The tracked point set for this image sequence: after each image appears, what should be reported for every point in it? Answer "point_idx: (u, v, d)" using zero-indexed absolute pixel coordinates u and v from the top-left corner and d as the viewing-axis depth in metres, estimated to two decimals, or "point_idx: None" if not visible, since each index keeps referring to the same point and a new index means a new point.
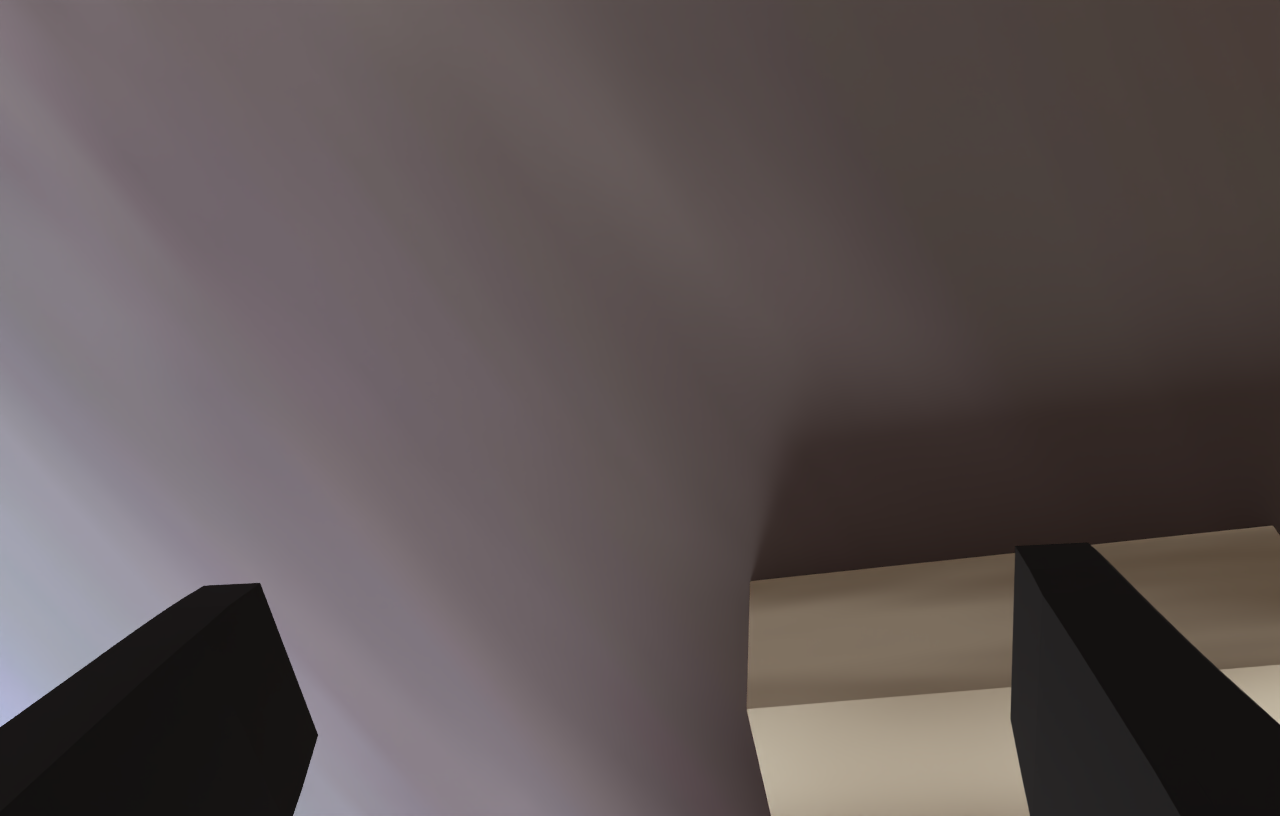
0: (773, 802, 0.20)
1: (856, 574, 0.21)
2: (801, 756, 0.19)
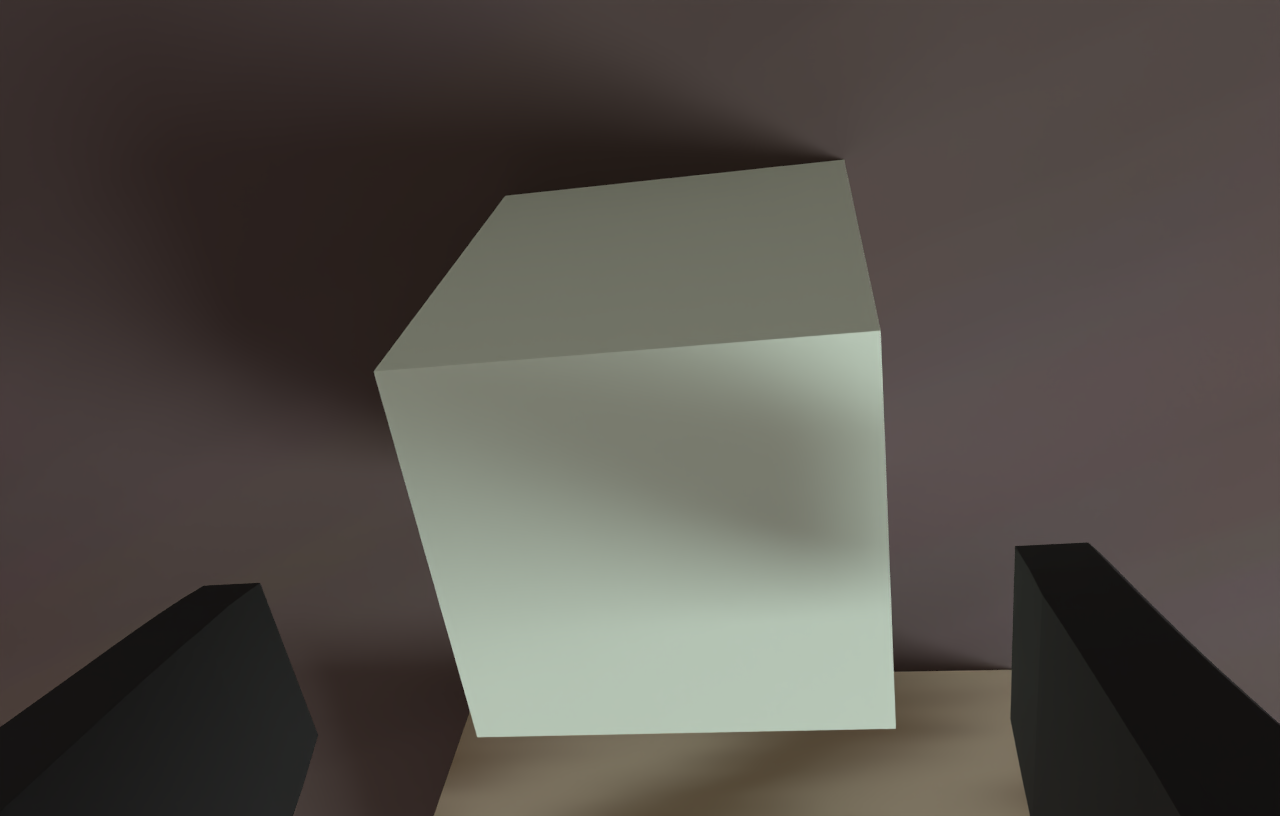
0: None
1: None
2: None
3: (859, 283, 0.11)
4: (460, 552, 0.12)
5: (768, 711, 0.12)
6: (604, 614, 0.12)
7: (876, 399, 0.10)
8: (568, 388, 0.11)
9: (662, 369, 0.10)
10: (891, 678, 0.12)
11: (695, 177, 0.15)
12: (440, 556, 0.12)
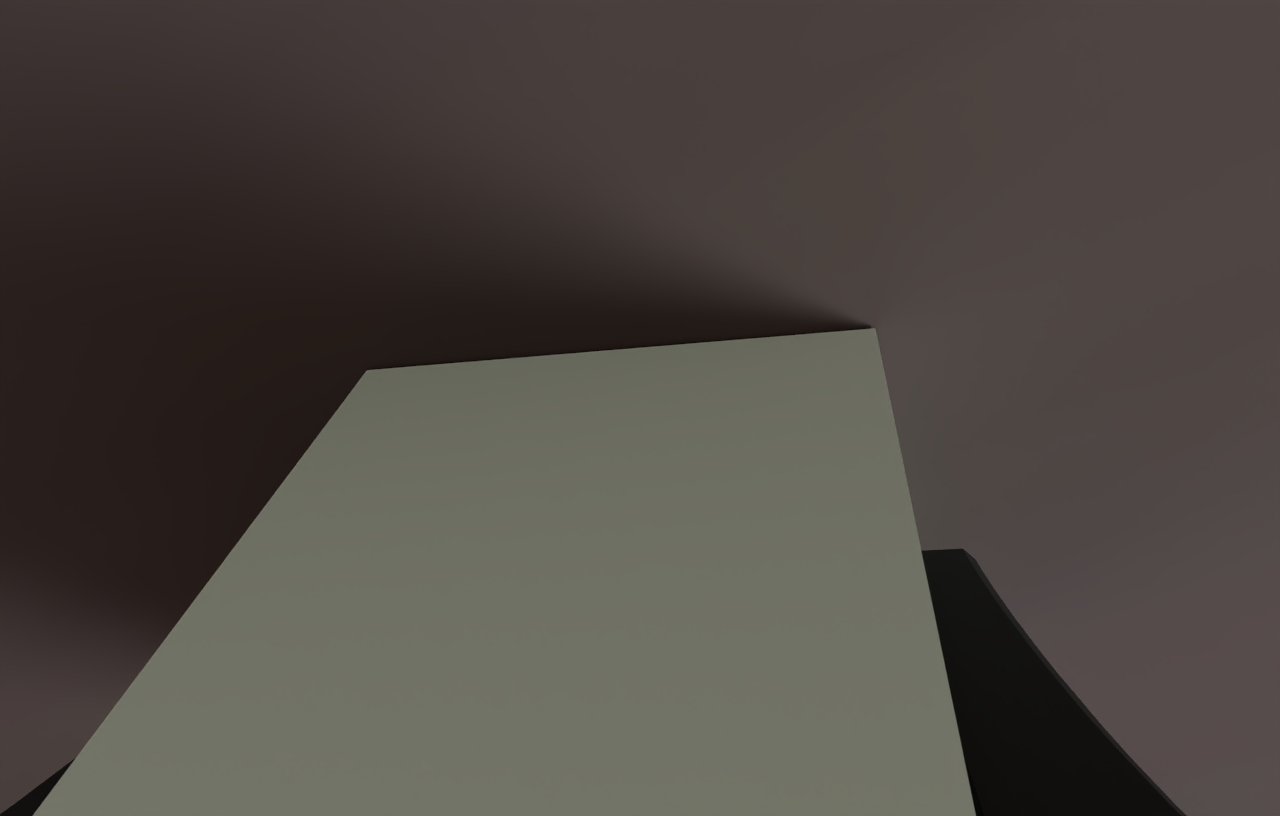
0: None
1: None
2: None
3: (931, 695, 0.06)
4: None
5: None
6: None
7: None
8: None
9: None
10: None
11: (648, 353, 0.10)
12: None
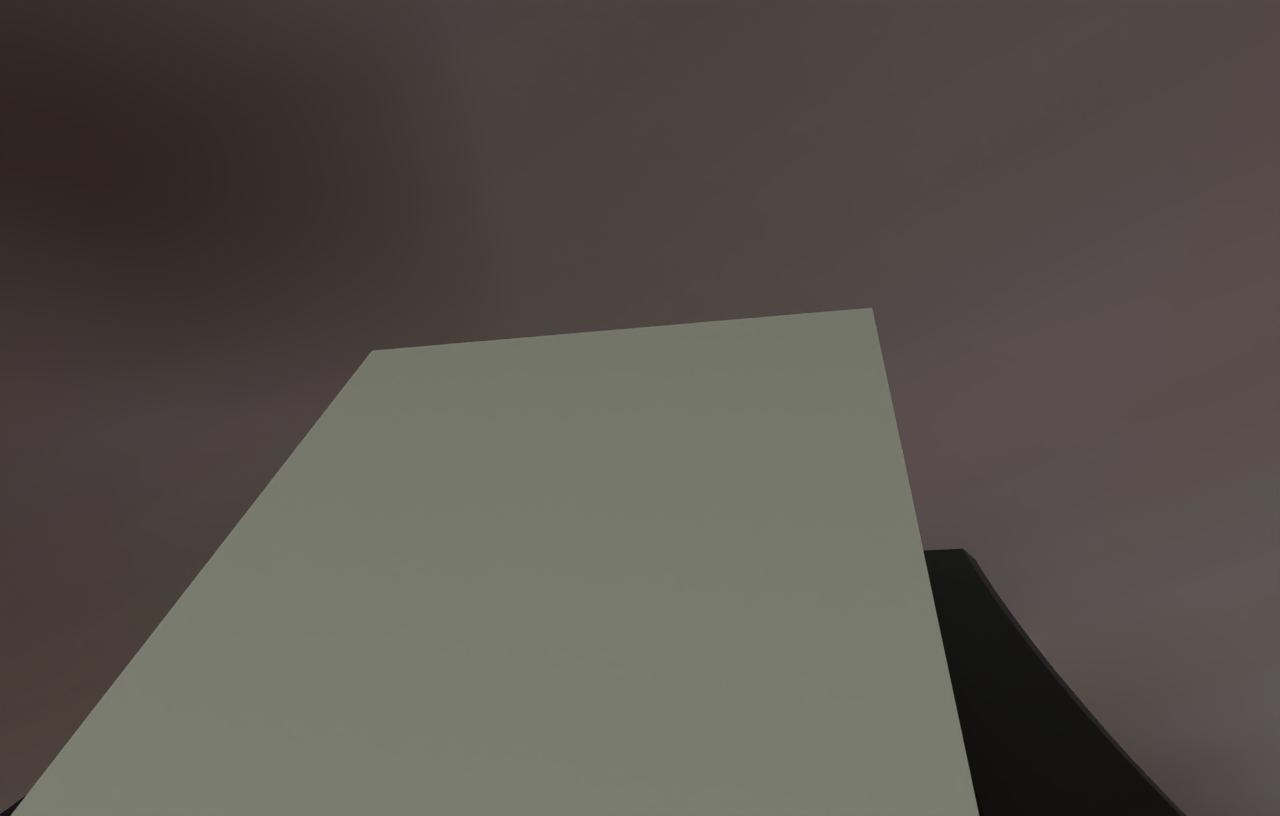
0: None
1: None
2: None
3: (924, 647, 0.06)
4: None
5: None
6: None
7: None
8: None
9: None
10: None
11: (649, 333, 0.10)
12: None
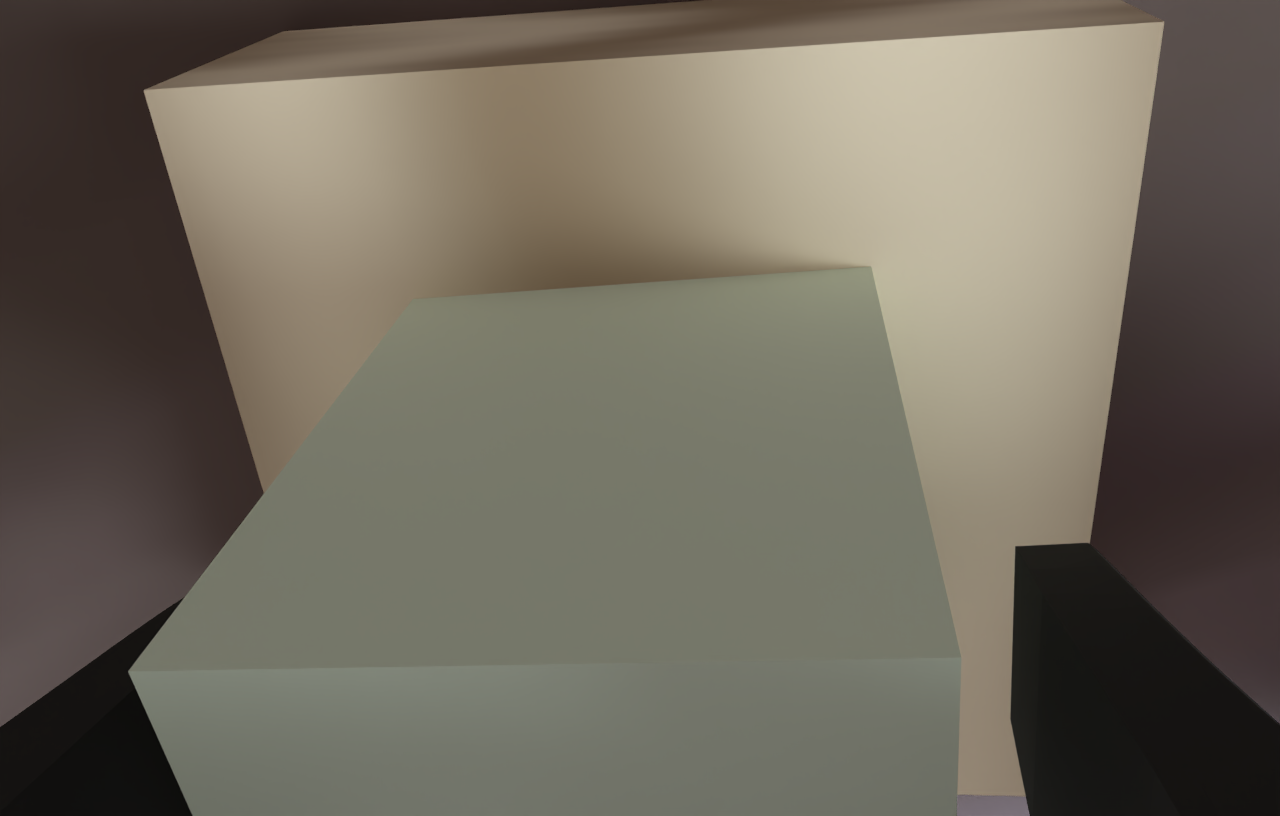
0: None
1: None
2: None
3: (914, 529, 0.07)
4: None
5: None
6: None
7: (947, 752, 0.06)
8: (442, 710, 0.06)
9: (595, 693, 0.06)
10: None
11: (668, 285, 0.11)
12: None
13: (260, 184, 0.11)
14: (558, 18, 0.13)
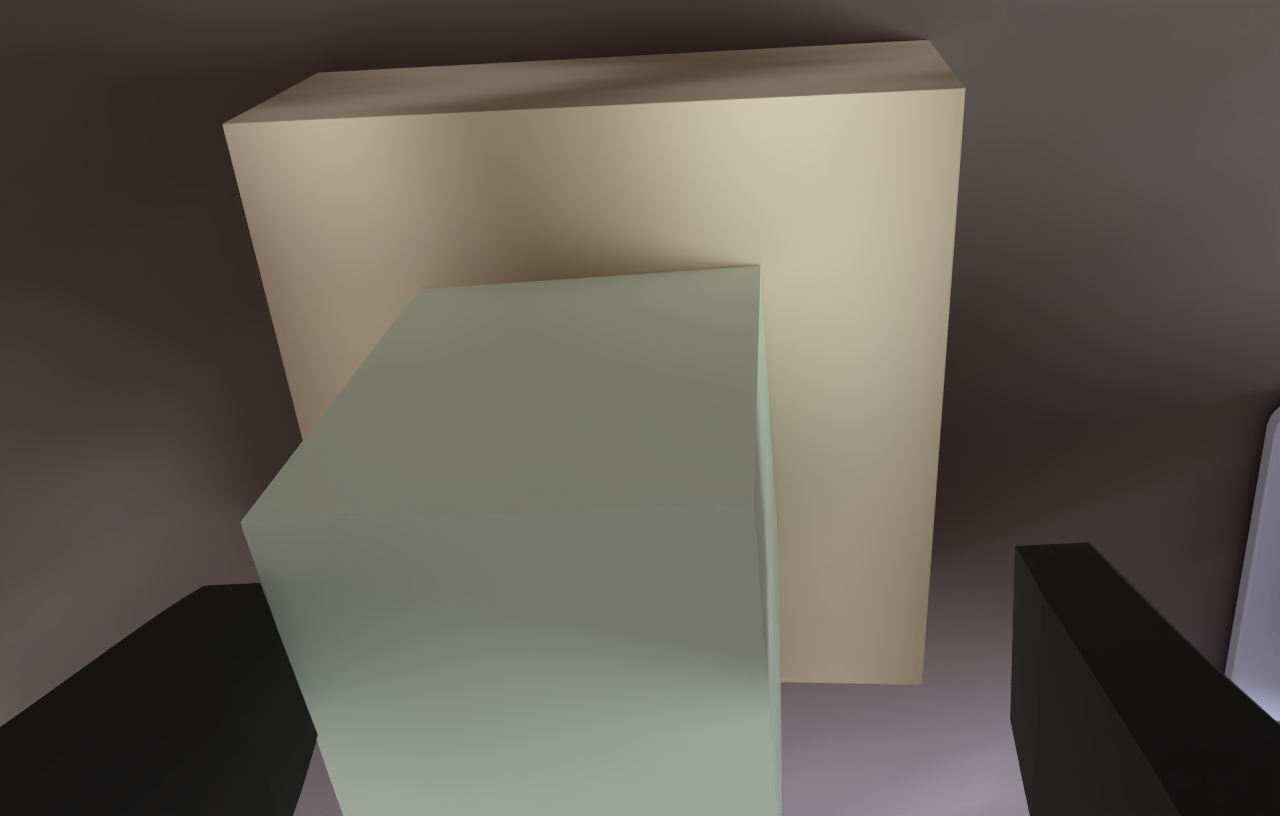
0: None
1: None
2: None
3: (745, 437, 0.11)
4: (336, 695, 0.11)
5: None
6: (484, 758, 0.12)
7: (752, 568, 0.10)
8: (440, 546, 0.10)
9: (534, 531, 0.10)
10: None
11: (610, 279, 0.15)
12: (316, 698, 0.11)
13: (307, 194, 0.15)
14: (535, 68, 0.17)
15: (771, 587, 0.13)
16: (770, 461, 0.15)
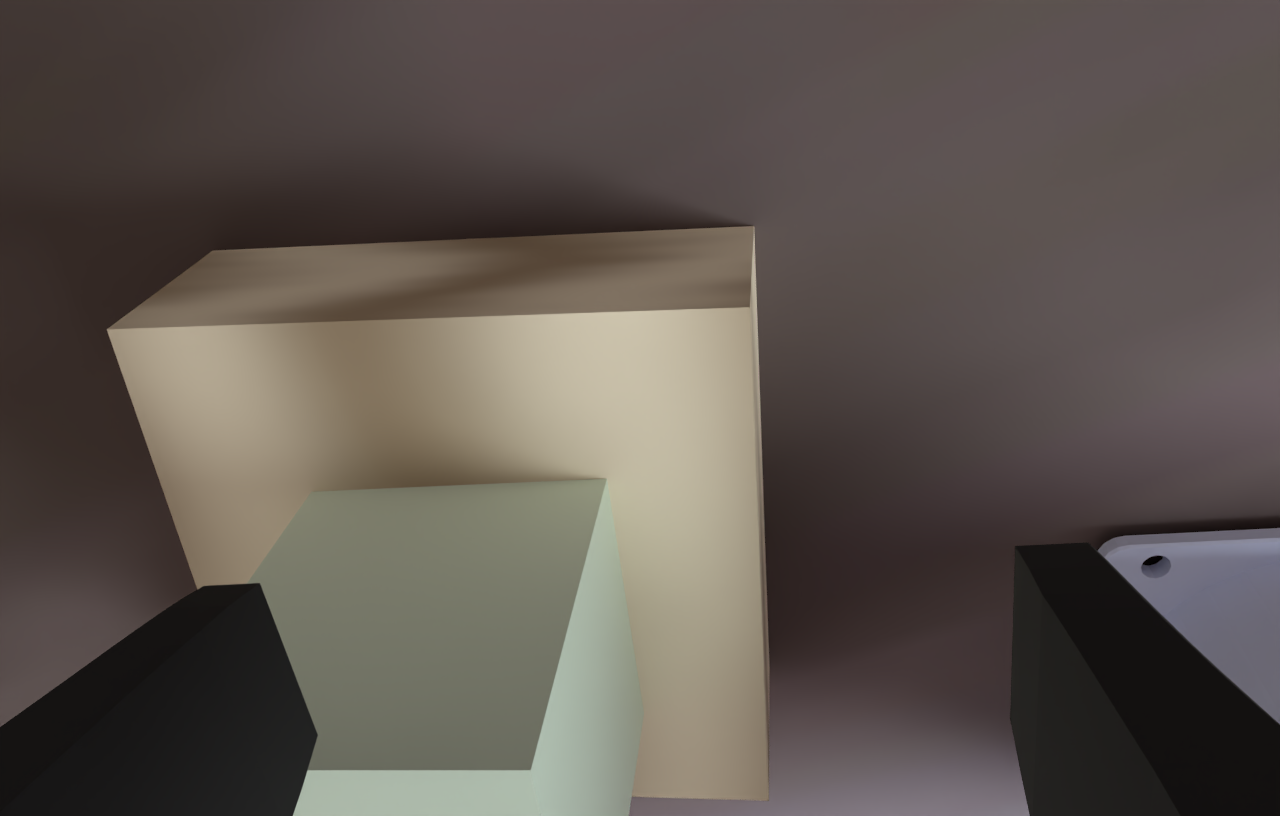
0: None
1: None
2: None
3: (542, 691, 0.13)
4: None
5: None
6: None
7: (536, 815, 0.12)
8: None
9: (356, 784, 0.12)
10: None
11: (476, 488, 0.17)
12: None
13: (185, 387, 0.17)
14: (401, 253, 0.19)
15: (596, 784, 0.15)
16: (617, 650, 0.17)
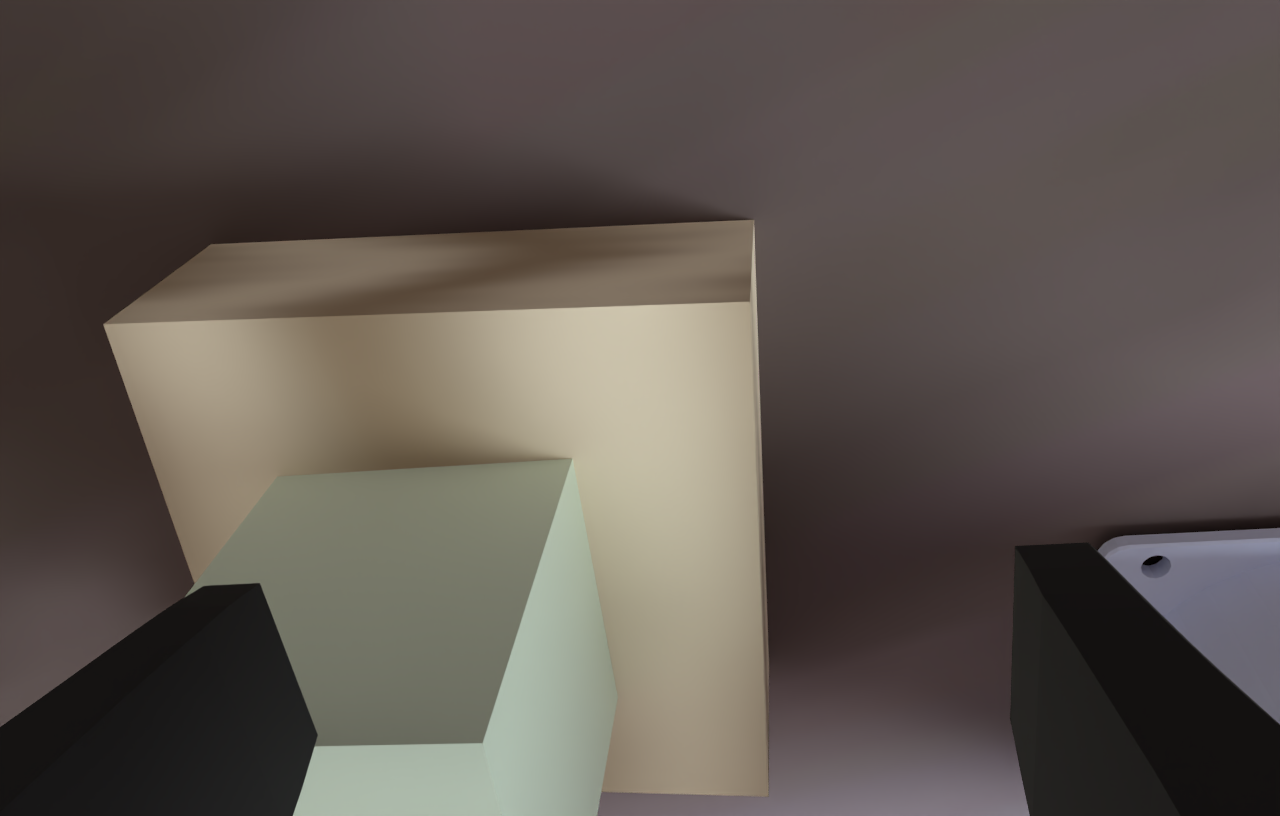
0: None
1: None
2: None
3: (499, 666, 0.13)
4: None
5: None
6: None
7: (490, 790, 0.12)
8: None
9: None
10: None
11: (441, 470, 0.17)
12: None
13: (183, 382, 0.17)
14: (399, 248, 0.18)
15: (561, 764, 0.15)
16: (585, 631, 0.17)
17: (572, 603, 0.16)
